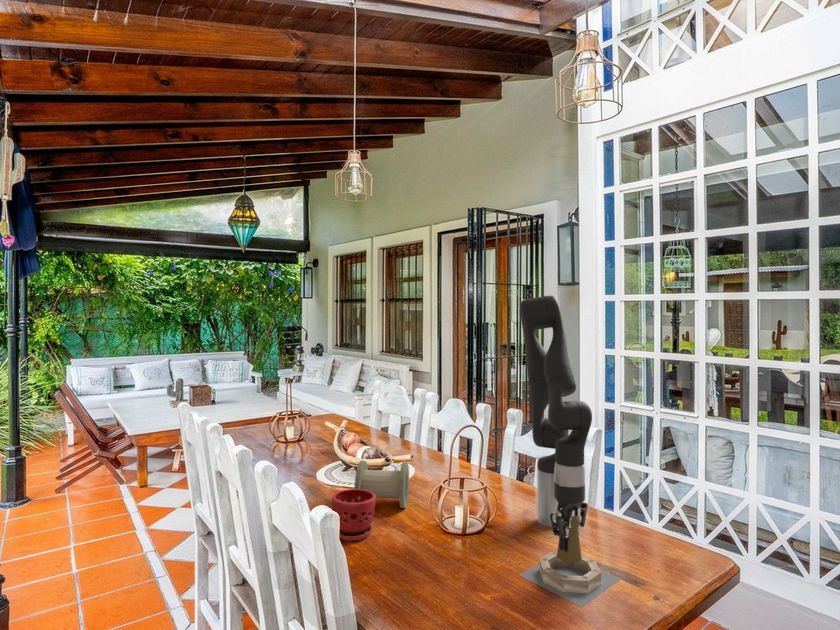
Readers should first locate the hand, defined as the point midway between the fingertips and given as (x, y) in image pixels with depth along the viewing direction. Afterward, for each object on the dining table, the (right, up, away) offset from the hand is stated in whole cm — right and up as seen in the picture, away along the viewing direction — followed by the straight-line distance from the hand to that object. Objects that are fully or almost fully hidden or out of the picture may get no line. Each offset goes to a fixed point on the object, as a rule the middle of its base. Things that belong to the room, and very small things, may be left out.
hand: (569, 547), depth 126 cm
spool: (-51, -8, +47) cm, 70 cm away
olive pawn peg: (0, -2, 0) cm, 2 cm away
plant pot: (-58, -8, +25) cm, 63 cm away
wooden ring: (0, -7, 0) cm, 7 cm away
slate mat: (0, -8, 0) cm, 8 cm away
